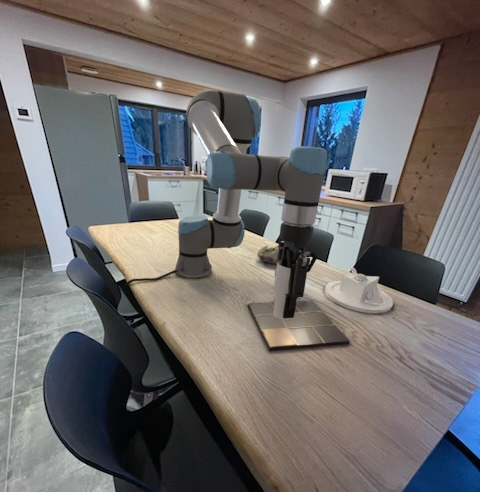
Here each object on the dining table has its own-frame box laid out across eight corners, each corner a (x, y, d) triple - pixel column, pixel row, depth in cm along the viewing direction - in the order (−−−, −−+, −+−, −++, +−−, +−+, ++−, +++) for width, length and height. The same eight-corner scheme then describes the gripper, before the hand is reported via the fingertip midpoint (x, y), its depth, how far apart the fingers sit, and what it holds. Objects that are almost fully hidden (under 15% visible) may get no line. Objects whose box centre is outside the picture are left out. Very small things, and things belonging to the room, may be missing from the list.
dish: (358, 318, 89) (367, 288, 84) (312, 286, 109) (317, 261, 104) (407, 307, 98) (418, 279, 93) (356, 280, 119) (363, 256, 114)
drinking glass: (279, 325, 67) (288, 270, 61) (265, 312, 72) (271, 260, 66) (300, 320, 70) (310, 267, 64) (285, 308, 75) (293, 258, 69)
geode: (253, 270, 134) (280, 273, 126) (248, 255, 129) (276, 257, 121) (267, 251, 144) (292, 253, 136) (263, 236, 139) (290, 237, 131)
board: (269, 350, 70) (270, 347, 70) (248, 305, 91) (248, 302, 91) (349, 343, 75) (350, 340, 75) (311, 302, 96) (312, 299, 96)
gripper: (334, 234, 53) (312, 330, 63) (296, 215, 69) (284, 293, 79) (299, 234, 51) (282, 332, 61) (269, 214, 68) (260, 294, 78)
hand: (283, 310), depth 70 cm, fingers closed on drinking glass, 6 cm apart
